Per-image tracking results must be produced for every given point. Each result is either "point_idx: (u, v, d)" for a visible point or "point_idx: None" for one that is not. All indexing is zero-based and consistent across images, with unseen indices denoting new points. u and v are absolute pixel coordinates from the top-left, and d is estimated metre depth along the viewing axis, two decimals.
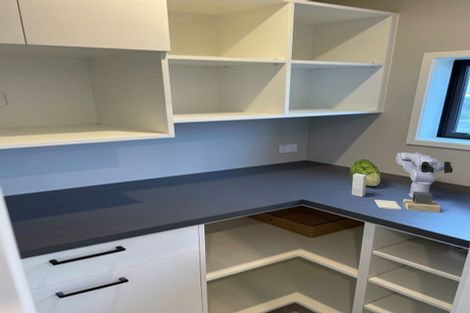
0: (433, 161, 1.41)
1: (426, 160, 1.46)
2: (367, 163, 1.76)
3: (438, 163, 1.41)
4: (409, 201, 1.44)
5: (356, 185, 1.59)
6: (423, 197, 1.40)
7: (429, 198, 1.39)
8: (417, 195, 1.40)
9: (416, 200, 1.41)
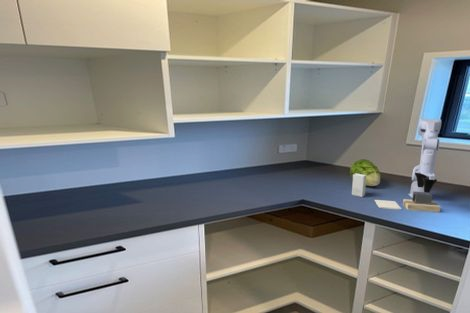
0: None
1: None
2: (367, 163, 1.76)
3: None
4: (409, 201, 1.44)
5: (356, 185, 1.59)
6: (423, 197, 1.40)
7: (429, 198, 1.39)
8: (417, 195, 1.40)
9: (416, 200, 1.41)
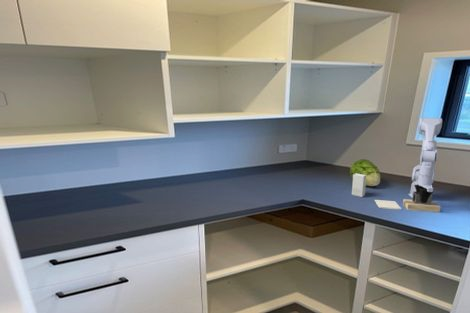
0: None
1: None
2: (367, 163, 1.76)
3: None
4: (409, 201, 1.44)
5: (356, 185, 1.59)
6: None
7: (429, 198, 1.39)
8: (417, 195, 1.40)
9: (416, 200, 1.41)
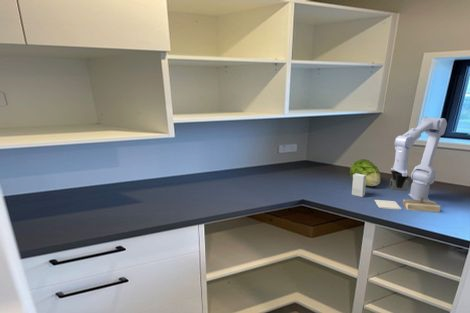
0: None
1: None
2: (367, 163, 1.76)
3: None
4: (409, 201, 1.44)
5: (356, 185, 1.59)
6: None
7: (405, 184, 1.41)
8: (394, 181, 1.42)
9: (393, 186, 1.42)
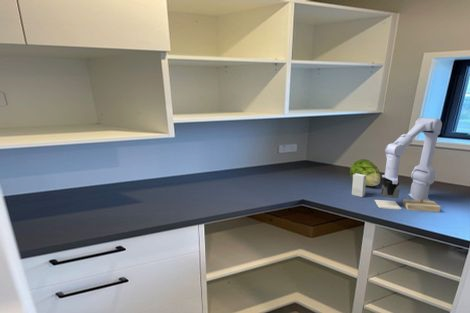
0: None
1: None
2: (367, 163, 1.76)
3: None
4: (409, 201, 1.44)
5: (356, 185, 1.59)
6: None
7: (396, 192, 1.43)
8: (385, 188, 1.44)
9: (384, 193, 1.44)
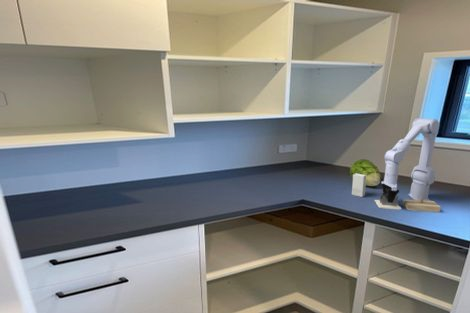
0: None
1: None
2: (367, 163, 1.76)
3: None
4: (409, 201, 1.44)
5: (356, 185, 1.59)
6: None
7: (395, 199, 1.44)
8: (383, 196, 1.45)
9: (383, 201, 1.45)
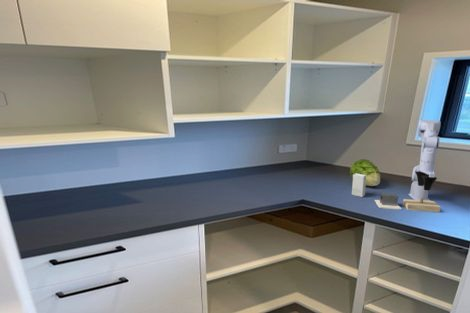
0: None
1: None
2: (367, 163, 1.76)
3: None
4: (409, 201, 1.44)
5: (356, 185, 1.59)
6: (389, 199, 1.44)
7: (395, 199, 1.44)
8: (383, 196, 1.45)
9: (383, 201, 1.45)
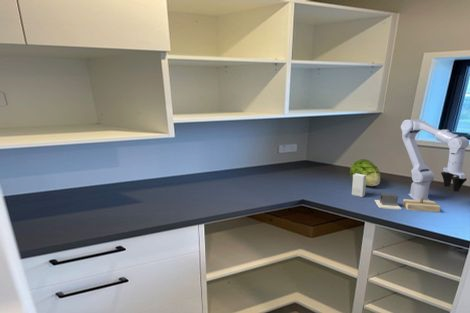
0: (447, 171, 1.40)
1: None
2: (367, 163, 1.76)
3: None
4: (409, 201, 1.44)
5: (356, 185, 1.59)
6: (389, 199, 1.44)
7: (395, 199, 1.44)
8: (383, 196, 1.45)
9: (383, 201, 1.45)
